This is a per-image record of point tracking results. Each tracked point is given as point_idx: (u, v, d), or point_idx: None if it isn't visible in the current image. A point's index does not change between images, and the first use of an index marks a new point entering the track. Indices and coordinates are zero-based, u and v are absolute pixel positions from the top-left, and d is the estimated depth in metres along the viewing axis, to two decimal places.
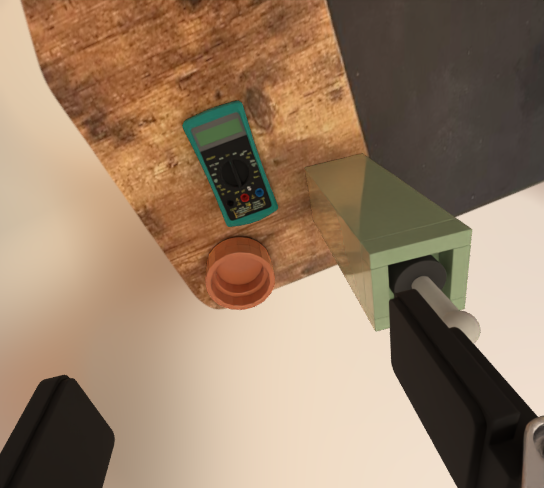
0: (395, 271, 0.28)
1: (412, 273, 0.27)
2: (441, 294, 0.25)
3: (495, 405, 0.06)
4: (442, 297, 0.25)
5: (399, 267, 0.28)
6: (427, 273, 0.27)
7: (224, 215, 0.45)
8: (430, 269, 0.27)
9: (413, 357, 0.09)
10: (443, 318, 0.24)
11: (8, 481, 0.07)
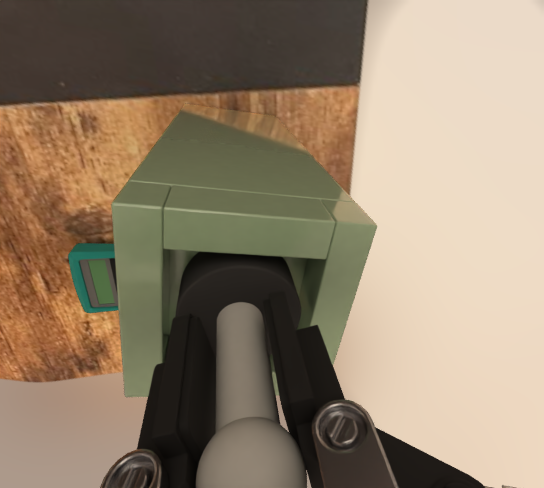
0: None
1: None
2: (218, 369, 0.10)
3: (298, 390, 0.07)
4: (217, 383, 0.09)
5: None
6: (215, 306, 0.12)
7: None
8: (205, 299, 0.11)
9: None
10: None
11: (181, 386, 0.08)
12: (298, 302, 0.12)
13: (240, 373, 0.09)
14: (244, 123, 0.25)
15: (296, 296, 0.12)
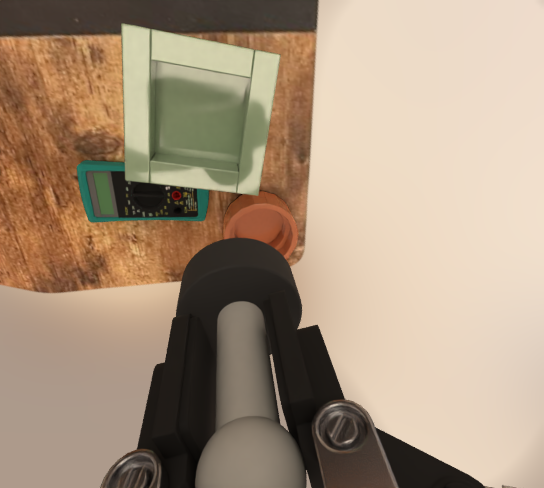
0: None
1: None
2: (219, 368, 0.10)
3: (298, 390, 0.07)
4: (217, 382, 0.09)
5: None
6: (215, 305, 0.12)
7: (189, 219, 0.44)
8: (206, 298, 0.11)
9: None
10: None
11: (181, 386, 0.08)
12: (299, 301, 0.12)
13: (240, 372, 0.09)
14: None
15: (297, 295, 0.12)
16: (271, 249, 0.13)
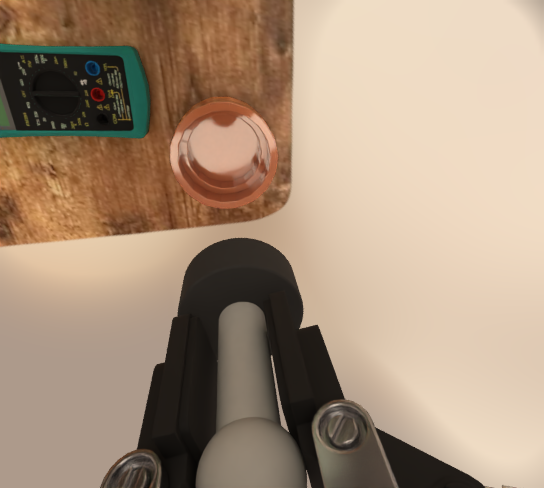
0: None
1: None
2: (220, 369, 0.10)
3: (298, 390, 0.07)
4: (218, 383, 0.09)
5: None
6: (217, 305, 0.12)
7: (122, 135, 0.31)
8: (207, 298, 0.11)
9: None
10: None
11: (181, 386, 0.08)
12: (300, 302, 0.12)
13: (241, 373, 0.09)
14: None
15: (298, 296, 0.12)
16: (273, 249, 0.13)
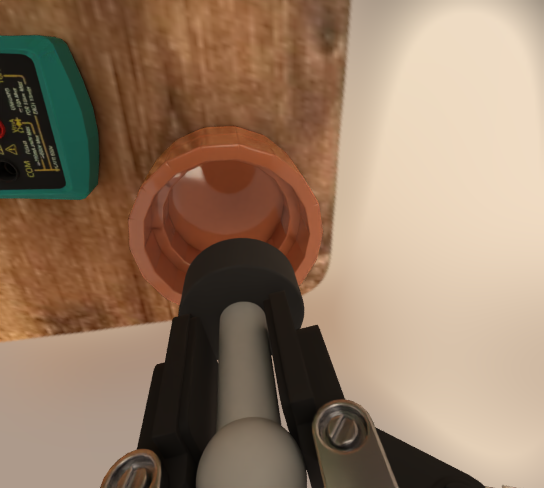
0: None
1: None
2: (220, 368, 0.10)
3: (298, 390, 0.07)
4: (218, 382, 0.09)
5: None
6: (218, 305, 0.12)
7: (46, 196, 0.17)
8: (208, 298, 0.11)
9: None
10: None
11: (181, 386, 0.08)
12: (301, 302, 0.12)
13: (242, 373, 0.09)
14: None
15: (299, 296, 0.12)
16: (274, 249, 0.13)
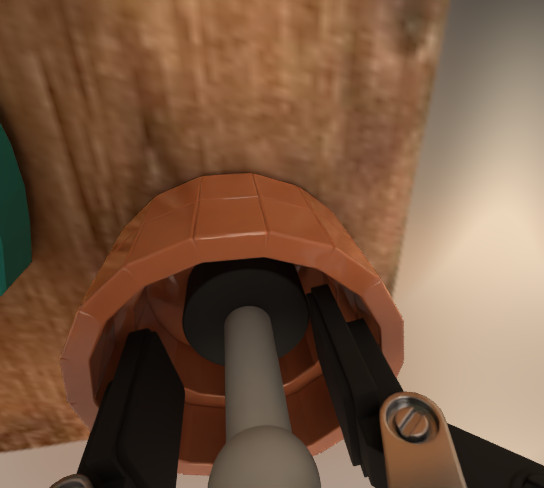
0: None
1: (209, 337, 0.12)
2: (228, 375, 0.09)
3: (360, 383, 0.07)
4: (226, 390, 0.09)
5: None
6: (222, 310, 0.11)
7: None
8: (213, 303, 0.11)
9: (320, 345, 0.10)
10: None
11: (125, 407, 0.08)
12: (307, 306, 0.12)
13: (250, 380, 0.09)
14: None
15: (305, 300, 0.12)
16: None
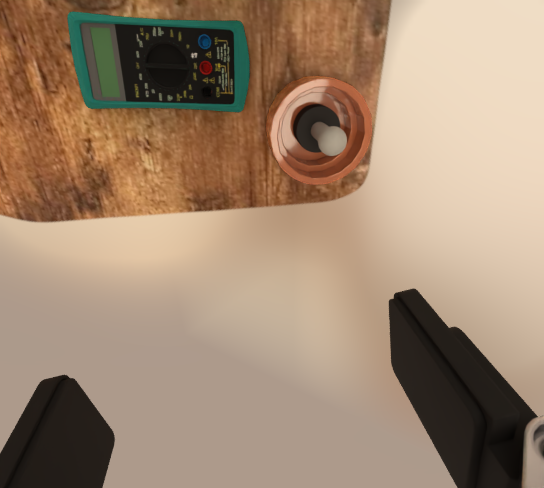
0: None
1: (304, 135, 0.34)
2: (317, 130, 0.31)
3: (495, 405, 0.06)
4: (317, 132, 0.31)
5: (298, 141, 0.35)
6: (310, 123, 0.33)
7: (222, 108, 0.32)
8: (308, 119, 0.33)
9: (413, 357, 0.09)
10: None
11: (8, 481, 0.07)
12: (339, 124, 0.34)
13: (325, 127, 0.31)
14: None
15: (339, 121, 0.34)
16: None
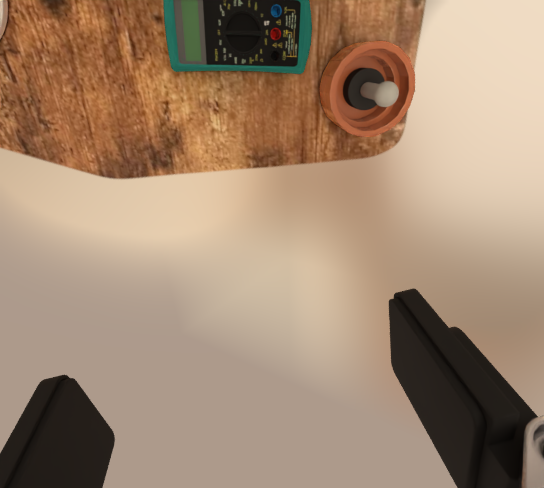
0: (350, 103, 0.40)
1: (355, 94, 0.39)
2: (369, 87, 0.37)
3: (495, 405, 0.06)
4: (370, 89, 0.36)
5: (348, 100, 0.40)
6: (360, 83, 0.39)
7: (287, 70, 0.37)
8: (358, 80, 0.39)
9: (413, 357, 0.09)
10: None
11: (8, 481, 0.07)
12: None
13: (377, 84, 0.36)
14: None
15: (384, 81, 0.39)
16: None
